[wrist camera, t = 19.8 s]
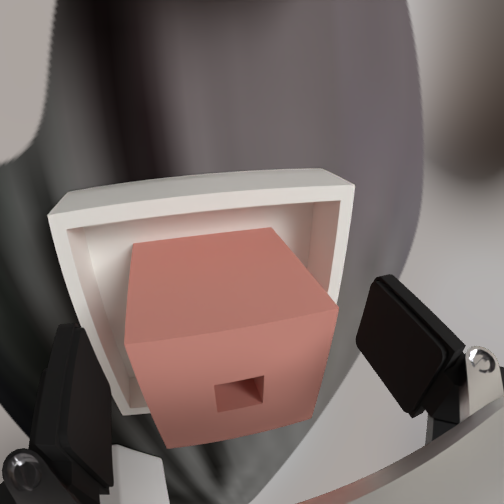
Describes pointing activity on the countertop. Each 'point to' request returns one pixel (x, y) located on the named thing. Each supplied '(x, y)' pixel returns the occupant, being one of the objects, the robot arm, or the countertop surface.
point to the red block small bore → (226, 334)
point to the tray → (184, 225)
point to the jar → (136, 478)
